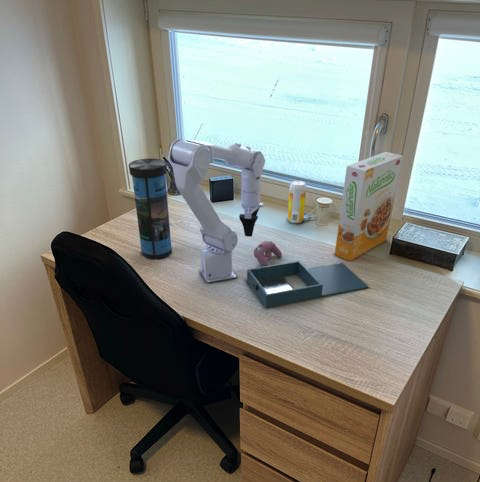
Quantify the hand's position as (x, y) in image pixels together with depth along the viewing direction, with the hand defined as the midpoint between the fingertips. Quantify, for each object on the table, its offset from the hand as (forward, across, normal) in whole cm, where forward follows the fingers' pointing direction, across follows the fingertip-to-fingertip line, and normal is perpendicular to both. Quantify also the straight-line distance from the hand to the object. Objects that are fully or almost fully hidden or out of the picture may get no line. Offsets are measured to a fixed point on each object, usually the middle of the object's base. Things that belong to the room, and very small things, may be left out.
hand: (249, 230), depth 148 cm
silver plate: (+10, -19, -10) cm, 24 cm away
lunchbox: (+10, -15, -19) cm, 26 cm away
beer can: (+10, +33, -14) cm, 37 cm away
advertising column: (+10, 0, +32) cm, 33 cm away
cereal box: (+10, +13, -38) cm, 41 cm away
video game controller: (+10, 0, -6) cm, 12 cm away
